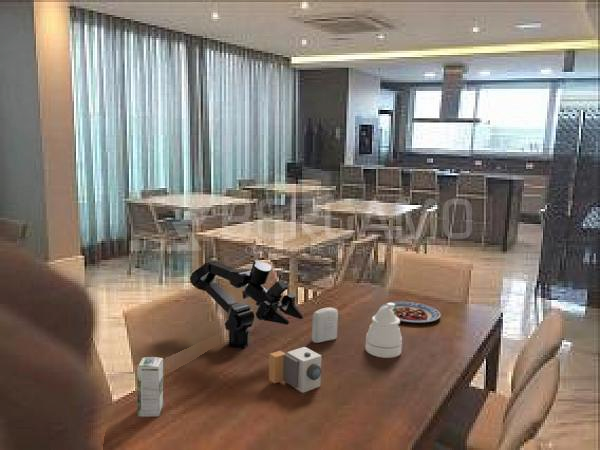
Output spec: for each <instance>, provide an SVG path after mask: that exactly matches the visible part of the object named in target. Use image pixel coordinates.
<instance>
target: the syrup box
mask: <svg viewBox="0 0 600 450" xmlns="http://www.w3.org/2000/svg"><path fill="white" fill-rule="evenodd" d="M136 372H137V374H136V375H137V376H136V378H137V380H136V381H137V384H136V385H137V387H136V388H137V392H136V393H137V395H136V396H137V397H136V398H137V404H136V405H137V418H146V417H147V418H149V417H150V418H151V417H152V418H153V417H160V414H161V411H162V408H163V406H164V357H157V356H156V357H155V356H151V357H150V356H149V357H146V356H145V357H142V359H141V360H140V362H139V364H138V366H137V371H136Z"/></svg>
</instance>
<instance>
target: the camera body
mask: <svg viewBox="0 0 600 450" xmlns="http://www.w3.org/2000/svg"><path fill="white" fill-rule="evenodd" d="M286 354H287V355H289V356H291V357H292V358H294V359H296V360H298V386H297V388H295V389H296V390H297V391H298V392H300V393H302V394H304V393H306V392H309V391H311V390H314V389H317V388H319V387H321V381H322V380H321V378H322V377H321V376H322V355H321V354H319V353H317V352H316V351H313V350H312V349H310V348H308V347H306V346H303V347H300V348H296V349H293V350H290V351H287V352H286Z"/></svg>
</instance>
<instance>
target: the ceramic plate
mask: <svg viewBox="0 0 600 450" xmlns="http://www.w3.org/2000/svg"><path fill="white" fill-rule="evenodd" d="M387 303H388V302H385V303H384V304H382V305H381V306H380V308H382V307H383V306H388V305H387ZM389 303H394V304H395V306H394V308H393V309H392V311H393V313H394V315H395V317H397V318H399V319H400V322H405V323H417V324H419V323H430V322H434V321H437V320H439V319H440V317H441V312H440V311H439V310H438V309H436V308H434V307H432V306H429V305H428V304H424V303H418V302H411V301H392V302H389ZM380 308H379V309H380Z"/></svg>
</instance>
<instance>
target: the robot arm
mask: <svg viewBox="0 0 600 450" xmlns="http://www.w3.org/2000/svg"><path fill="white" fill-rule="evenodd" d="M271 270H272V266H271V265H270V264H269V263H267V262H264V261H260V260H259V259H256V260H254V261H253V262H252V266H251V269H247V268H234V267H231V266H229V265H226V264H224V263H220V262H219V261H217V260H211V261H207V262H204V263H203V264H202V265H201V266H200V267H199V268H196V269H195V270H194V271H193V272H192V273H191V275H190V277H189V281H190V284H191V285H192V286H193V287H195V288H196V289H197V290H200V291H204V292H205V293H207V294H208V295H209V296H210V297H211V298H212V299H213V300H214V301H215V302H216V303H217V304H218V305H219V306H220V307H221V308H222V309H223V311H225V313H227V320H226V321H225V323H224V328H225V330H227V331H228V333H229V334H228V343H227V347H230V348H240V349H241V348H242V349H245V348H246V347H247V345H249V343H250V331H249V328H252V326H253V323H254V320H255V317H256V318H257V320H259V321H261V322H262V321H264V322H271V323H277V324H282V325H287V326H288V325H289V323H290V321H289V320H288V319H287V318H286V317H285V316H284V315H283V314H282V313H284V314H285V315H287V316H290V317H293V318H296V319H299V320H303V316H304V315H303V314H302V313H301V312H300V310H299V309H298V307H297V306H296V298H297V296H296V295H294V294H293V293H289V294H285V295H282V294H283V293H284V292H285V291H287V290H288V289H289V283H288V282H287V281H286V280H283V279H281V280H278V281H276V282H275V283H273V285H271V286H270V287H269V288H268V287H266V286H264V284H267V283H268V282H267V281H268V279H269V276H270V273H271ZM216 276H217V277H220V278H221V279H224V280H227V281H229V284H230V286H233V287H234V288H236V289H240V288H244V290H242V291H241V292H242V299H243V300H245V299H248V298H251V299H252V300H253V301H255V302H256V303H255V305H256V306H258V307H257V309H256V312H255V313H254V311H253V310H252V306H249V305H248V303H247V302H245V301H242V302H237V301H235V299H234V298H232V296H230V295H229V293H227V291H225V290H224V289H223V288H222V287H221V286H220V285H219V284H218V283H217V282H216ZM281 312H282V313H281Z"/></svg>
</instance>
